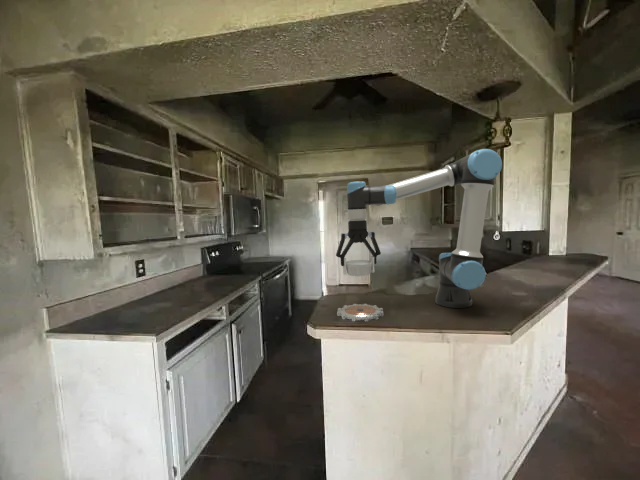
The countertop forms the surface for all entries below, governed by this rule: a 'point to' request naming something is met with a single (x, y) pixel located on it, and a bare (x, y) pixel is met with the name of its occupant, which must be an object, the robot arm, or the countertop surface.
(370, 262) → the ramekin
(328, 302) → the countertop surface
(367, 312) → the plate
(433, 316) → the countertop surface
